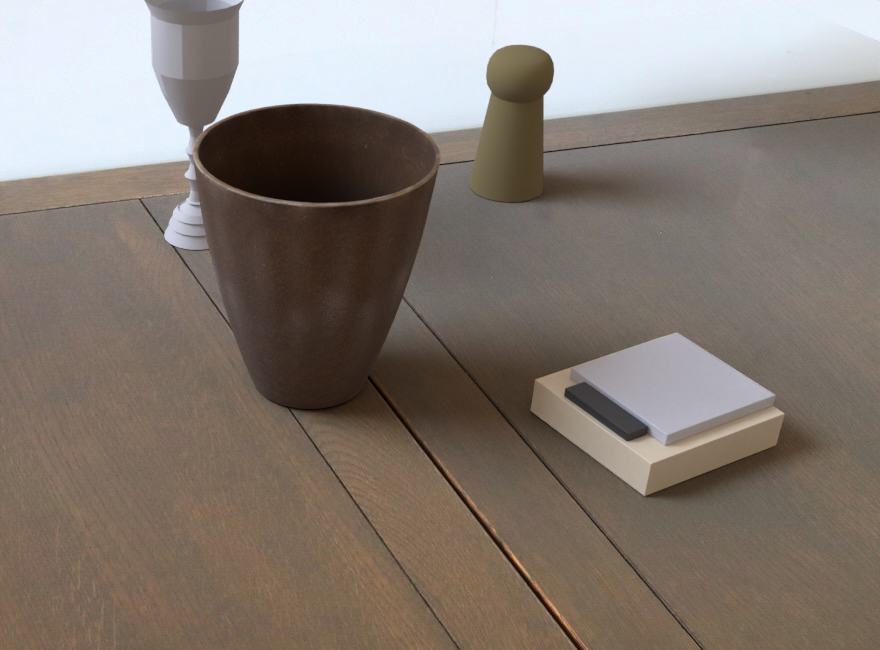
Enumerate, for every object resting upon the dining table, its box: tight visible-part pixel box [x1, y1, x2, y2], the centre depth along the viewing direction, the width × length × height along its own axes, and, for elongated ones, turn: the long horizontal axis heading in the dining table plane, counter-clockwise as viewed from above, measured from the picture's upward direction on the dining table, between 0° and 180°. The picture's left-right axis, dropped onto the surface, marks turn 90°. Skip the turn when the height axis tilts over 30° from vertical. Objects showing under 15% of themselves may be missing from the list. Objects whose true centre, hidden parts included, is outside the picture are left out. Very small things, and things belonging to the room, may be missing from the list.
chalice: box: [143, 0, 245, 251], centre depth 115 cm, size 7×7×18 cm
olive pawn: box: [468, 44, 555, 203], centre depth 124 cm, size 6×6×11 cm
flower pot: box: [192, 102, 441, 410], centre depth 100 cm, size 15×15×16 cm
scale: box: [530, 331, 786, 497], centre depth 100 cm, size 11×11×3 cm
